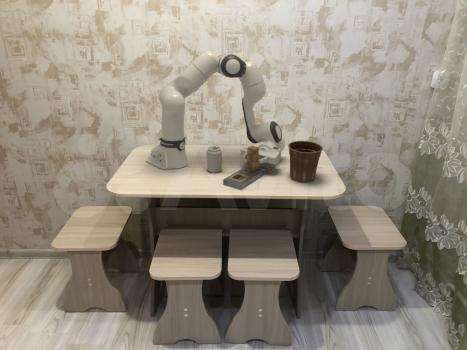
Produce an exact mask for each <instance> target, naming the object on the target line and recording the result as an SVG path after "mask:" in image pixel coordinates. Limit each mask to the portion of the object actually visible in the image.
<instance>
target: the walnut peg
mask: <svg viewBox="0 0 467 350" xmlns="http://www.w3.org/2000/svg"><path fill="white" fill-rule="evenodd" d="M247 147H248V146H247ZM258 157H259V147H258V146H255V145H250V147H248V149H247V159H246V166H247V171H249V172H253V173H255V172H257V171H258V166H259V163H258V162H259V161H258Z"/></svg>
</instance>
